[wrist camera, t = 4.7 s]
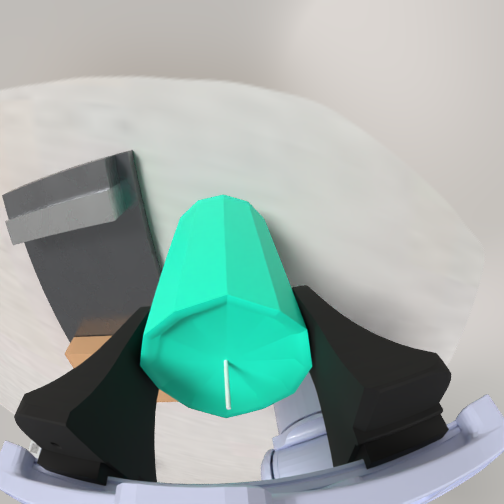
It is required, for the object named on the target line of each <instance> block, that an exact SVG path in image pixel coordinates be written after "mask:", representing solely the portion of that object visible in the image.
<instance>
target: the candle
mask: <svg viewBox="0 0 504 504" xmlns="http://www.w3.org/2000/svg"><path fill="white" fill-rule="evenodd" d="M140 366H141V367H142V369H143V370H144V371H145V373H146V374H147V375H148V376H149V378H150V379H151V380H152V381H153V383H154V384H155V385H156V386H157V387H158V388H159V389H160V390H162V391H163V392H165V393H166V394H168V395H169V396H171V397H172V398H174V399H175V400H177V401H179V402H180V403H182V404H184V405H185V406H187V407H188V408H191V409H195V410H198V411H202V412H205V413H209V414H212V415H216V416H220V417H224V418H229V417H233V416H237V415H241V414H245V413H249V412H253V411H257V410H260V409H264V408H266V407H268V406H270V405H272V404H274V403H276V402H278V401H280V400H282V399H284V398H286V397H288V396H290V395H292V394H294V393H295V392H296V390H297V389H298V387H299V386H300V384H301V383H302V381H303V380H304V378H305V377H306V375H307V374H308V372H309V371H310V369H311V368H312V360H311V353H310V346H309V339H308V332H307V328H306V325H305V323H304V320H303V317H302V315H301V312H300V309H299V307H298V304H297V301H296V299H295V296H294V294H293V291H292V288H291V286H290V283H289V281H288V278H287V275H286V273H285V270H284V268H283V265H282V262H281V260H280V257H279V255H278V252H277V250H276V247H275V245H274V242H273V240H272V237H271V235H270V232H269V230H268V227H267V224H266V222H265V220H264V218H263V217H262V216H261V215H260V214H259V213H258V212H257V211H256V210H255V209H254V208H253V207H252V205H251V204H250V203H249V202H247V201H244V200H240V199H237V198H234V197H230V196H227V195H219V196H215V197H211V198H207V199H203V200H198V201H197V202H196V203H195V204H194V205H193V206H192V207H191V208H190V209H189V210H188V211H187V212H186V213H185V214H184V215H183V216H182V217H181V218H180V220H179V223H178V226H177V229H176V232H175V234H174V237H173V240H172V243H171V246H170V249H169V252H168V255H167V258H166V261H165V264H164V267H163V270H162V273H161V276H160V279H159V283H158V286H157V289H156V292H155V296H154V299H153V302H152V306H151V309H150V313H149V316H148V320H147V323H146V327H145V330H144V334H143V340H142V349H141V359H140Z"/></svg>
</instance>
